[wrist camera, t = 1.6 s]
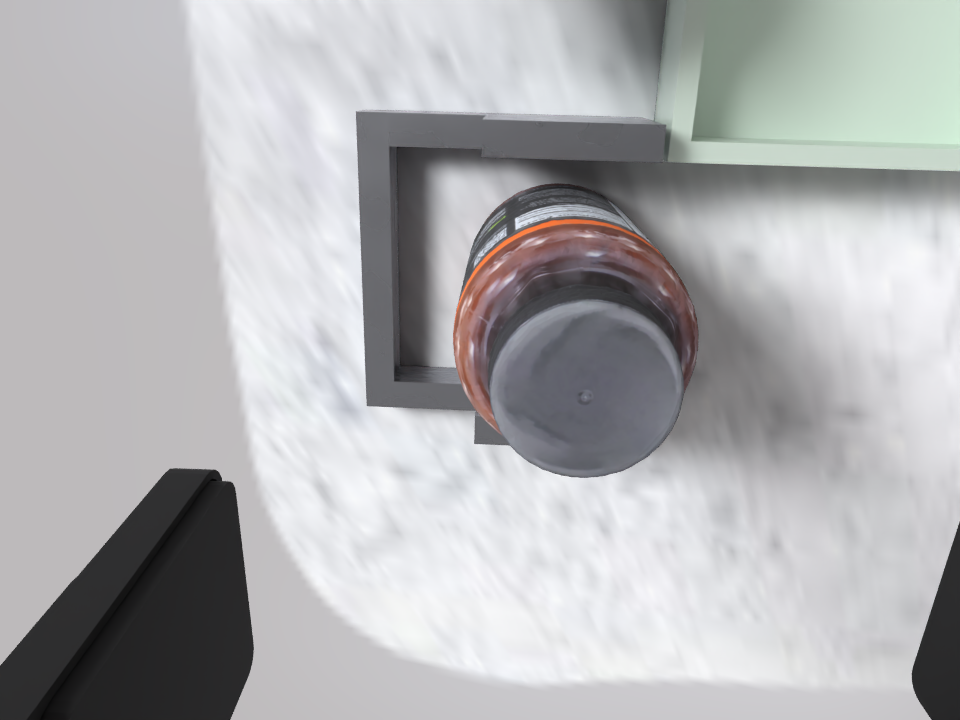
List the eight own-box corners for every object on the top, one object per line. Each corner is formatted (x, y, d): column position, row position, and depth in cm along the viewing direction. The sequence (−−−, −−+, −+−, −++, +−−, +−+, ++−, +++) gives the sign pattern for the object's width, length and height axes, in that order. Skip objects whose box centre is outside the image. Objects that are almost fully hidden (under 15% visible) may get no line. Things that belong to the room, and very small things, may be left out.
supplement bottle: (610, 362, 26) (675, 551, 16) (453, 324, 26) (412, 490, 15) (664, 202, 24) (781, 297, 13) (492, 159, 24) (475, 222, 13)
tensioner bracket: (642, 117, 23) (666, 124, 19) (612, 398, 27) (629, 450, 23) (365, 109, 23) (337, 115, 20) (374, 389, 27) (352, 438, 23)
